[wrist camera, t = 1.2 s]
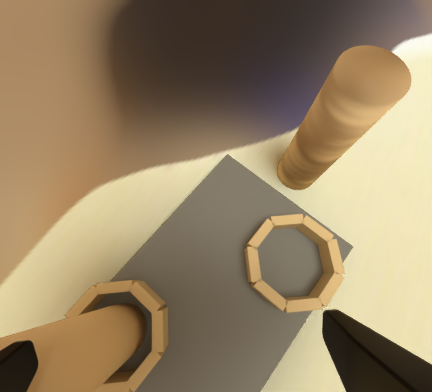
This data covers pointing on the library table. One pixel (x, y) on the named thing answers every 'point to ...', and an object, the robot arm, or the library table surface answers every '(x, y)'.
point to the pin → (344, 112)
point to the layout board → (198, 297)
